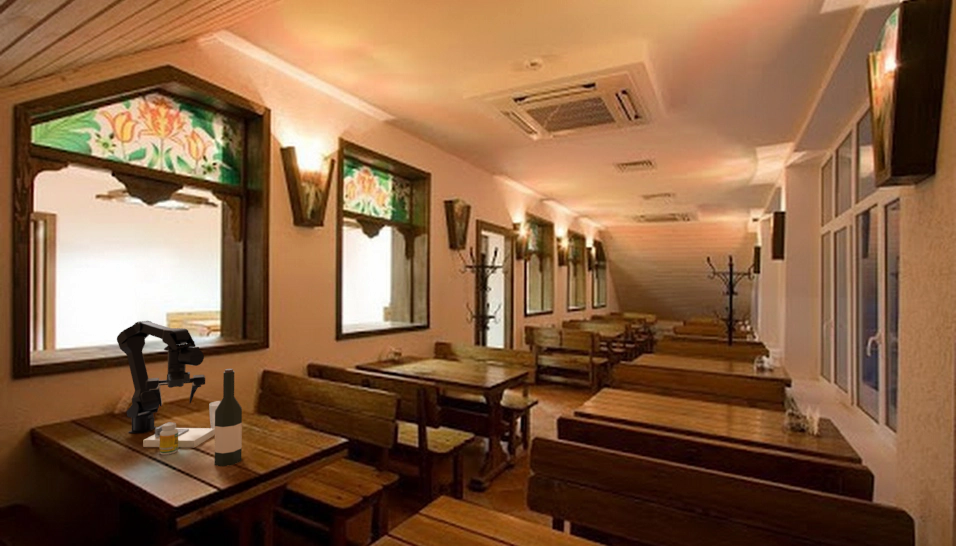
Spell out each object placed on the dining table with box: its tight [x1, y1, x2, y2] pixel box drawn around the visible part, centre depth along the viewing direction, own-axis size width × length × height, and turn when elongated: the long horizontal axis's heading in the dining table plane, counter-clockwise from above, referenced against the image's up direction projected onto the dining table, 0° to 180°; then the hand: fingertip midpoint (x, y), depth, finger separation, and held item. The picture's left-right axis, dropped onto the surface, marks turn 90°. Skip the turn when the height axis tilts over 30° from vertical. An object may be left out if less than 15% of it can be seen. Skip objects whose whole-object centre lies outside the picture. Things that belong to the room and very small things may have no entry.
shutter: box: [154, 421, 189, 437], centre depth 174 cm, size 8×8×3 cm
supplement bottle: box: [159, 421, 179, 456], centre depth 163 cm, size 5×5×10 cm
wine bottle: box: [214, 368, 243, 467], centre depth 156 cm, size 8×8×30 cm
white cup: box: [208, 400, 222, 428], centre depth 188 cm, size 8×8×10 cm
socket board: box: [142, 427, 215, 448], centre depth 174 cm, size 18×13×2 cm
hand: (175, 404), depth 178 cm, fingers open, 9 cm apart
